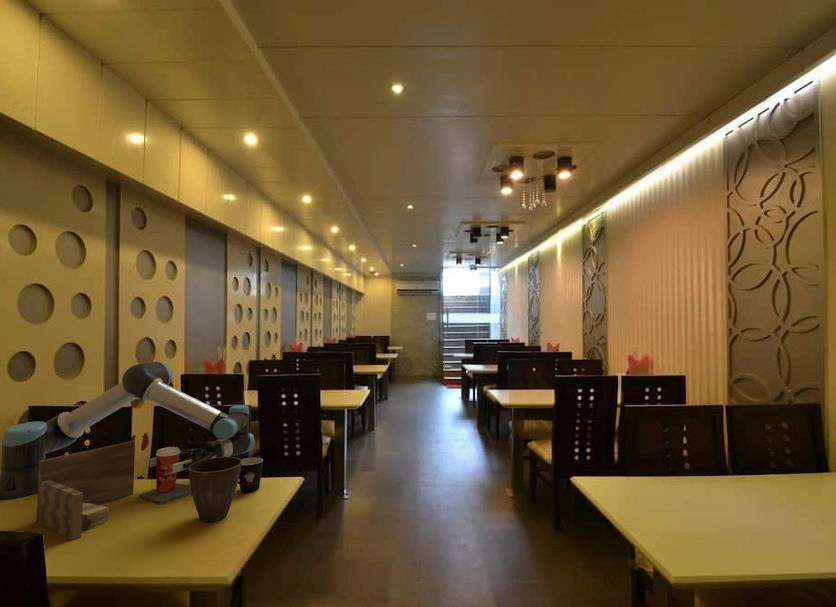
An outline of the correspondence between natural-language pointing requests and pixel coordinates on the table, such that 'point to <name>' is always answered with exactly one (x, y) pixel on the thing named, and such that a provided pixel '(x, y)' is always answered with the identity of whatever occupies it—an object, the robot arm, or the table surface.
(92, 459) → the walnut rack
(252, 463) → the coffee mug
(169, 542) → the table surface
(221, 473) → the plant pot
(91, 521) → the offcut stack
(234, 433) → the robot arm
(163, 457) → the paper cup
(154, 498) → the rubber mat
